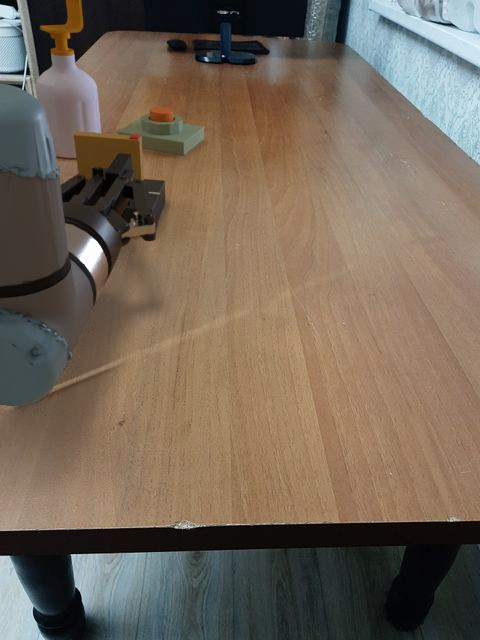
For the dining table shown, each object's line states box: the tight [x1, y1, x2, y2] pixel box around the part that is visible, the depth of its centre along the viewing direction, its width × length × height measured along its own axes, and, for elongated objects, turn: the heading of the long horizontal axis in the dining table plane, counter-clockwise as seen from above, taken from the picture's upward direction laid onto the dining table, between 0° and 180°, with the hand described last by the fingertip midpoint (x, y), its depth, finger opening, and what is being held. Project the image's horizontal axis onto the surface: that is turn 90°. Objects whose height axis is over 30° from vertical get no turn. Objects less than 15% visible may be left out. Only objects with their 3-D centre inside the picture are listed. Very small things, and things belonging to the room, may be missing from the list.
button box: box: [117, 112, 205, 156], centre depth 99 cm, size 12×10×4 cm
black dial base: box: [76, 173, 166, 227], centre depth 75 cm, size 12×12×3 cm
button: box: [149, 106, 174, 122], centre depth 98 cm, size 4×4×2 cm
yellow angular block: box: [74, 131, 145, 181], centre depth 72 cm, size 8×2×7 cm, turn 89°
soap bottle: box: [35, 0, 102, 160], centre depth 86 cm, size 9×9×25 cm
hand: (125, 165), depth 67 cm, fingers closed
